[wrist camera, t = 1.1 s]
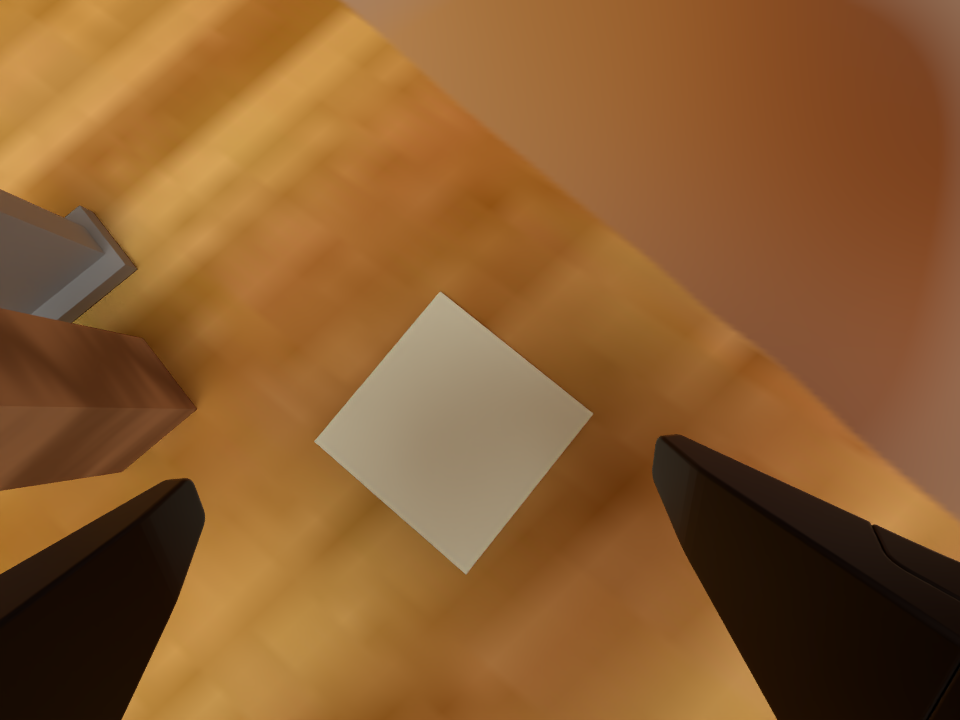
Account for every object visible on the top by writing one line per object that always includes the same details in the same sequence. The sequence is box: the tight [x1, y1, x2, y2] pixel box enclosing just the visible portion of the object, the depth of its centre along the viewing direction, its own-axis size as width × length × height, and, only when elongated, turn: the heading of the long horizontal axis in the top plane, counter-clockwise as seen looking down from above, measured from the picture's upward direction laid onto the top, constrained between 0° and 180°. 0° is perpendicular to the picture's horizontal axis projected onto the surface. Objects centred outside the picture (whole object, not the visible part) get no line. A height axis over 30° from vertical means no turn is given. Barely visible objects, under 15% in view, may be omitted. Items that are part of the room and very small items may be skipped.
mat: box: [314, 292, 593, 574], centre depth 23 cm, size 10×10×1 cm
